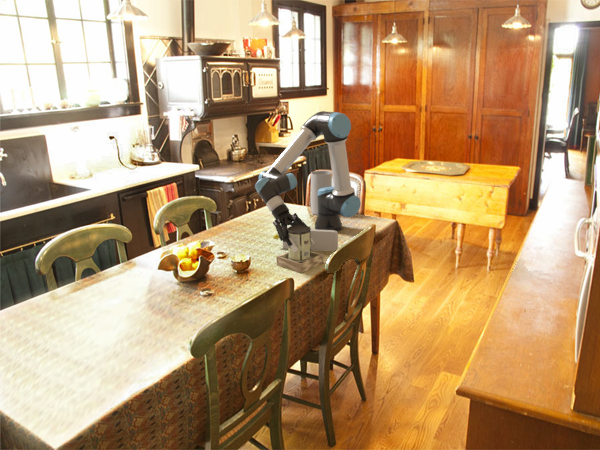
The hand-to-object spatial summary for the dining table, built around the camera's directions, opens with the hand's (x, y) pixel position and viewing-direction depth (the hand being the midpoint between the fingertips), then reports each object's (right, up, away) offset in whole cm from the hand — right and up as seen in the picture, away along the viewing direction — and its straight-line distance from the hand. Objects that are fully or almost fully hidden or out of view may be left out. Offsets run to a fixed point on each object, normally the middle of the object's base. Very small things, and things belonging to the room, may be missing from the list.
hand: (304, 248), depth 216 cm
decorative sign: (0, -2, +24) cm, 24 cm away
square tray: (-2, -7, +4) cm, 9 cm away
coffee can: (-2, -5, +4) cm, 6 cm away
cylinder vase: (+11, +18, +84) cm, 86 cm away
